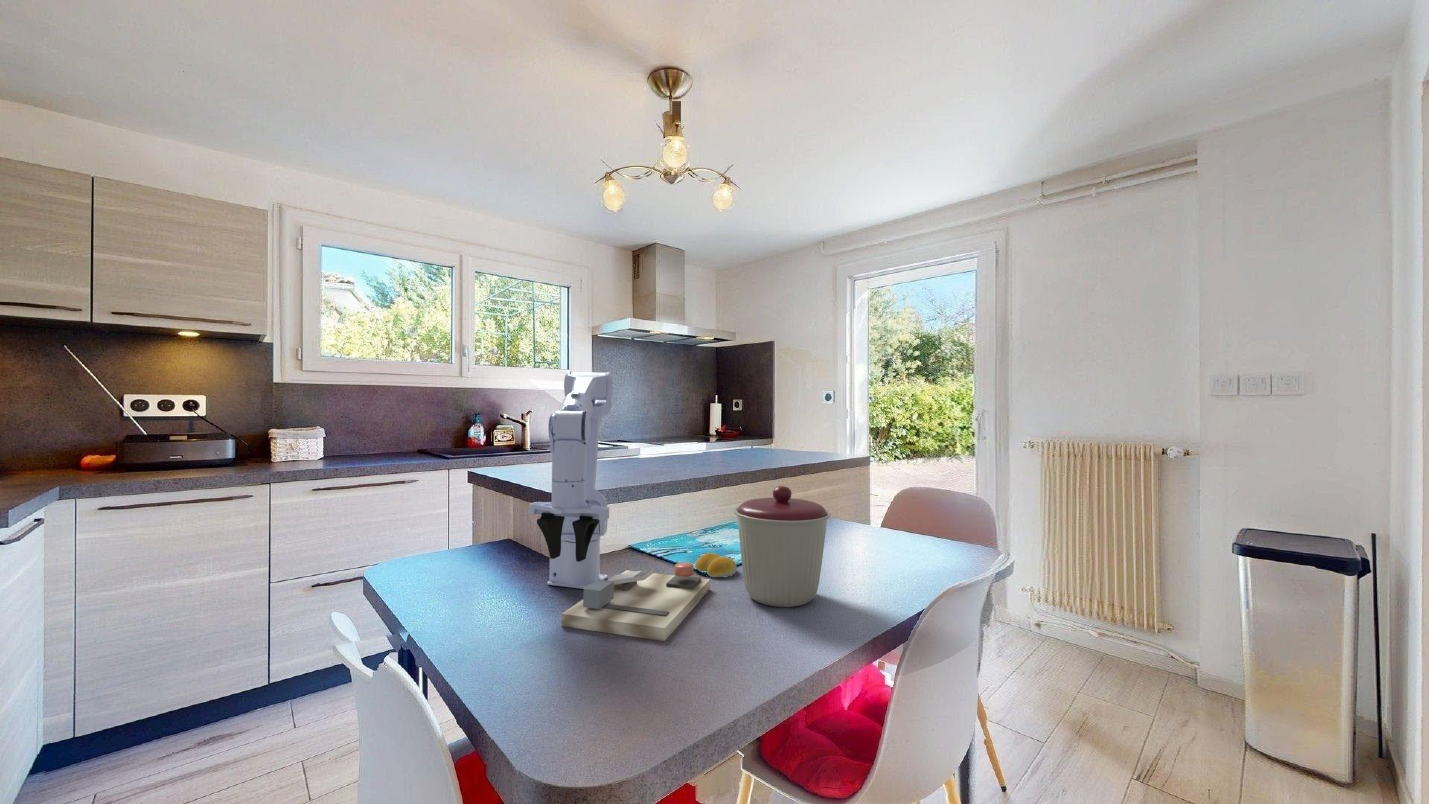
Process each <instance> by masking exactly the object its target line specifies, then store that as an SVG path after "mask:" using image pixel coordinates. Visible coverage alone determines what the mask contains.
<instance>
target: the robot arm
mask: <svg viewBox="0 0 1429 804" xmlns="http://www.w3.org/2000/svg"><path fill="white" fill-rule="evenodd" d="M613 378H614V377H613V374H612V373H611V372H610V371H606V372H599V371H598V372H595V371H594V372H592V371H591V372H589V371H588V372H587V371H581V372H580V371H572V370H570V371H569V370H568V371H567V372H566V373H565V375H564V380H563V381H564V382H563V386H564V387H563V389H564V390H563V393H564V398H563V400H562V402H561V404H560V407H559V408H558V410H555V412H554V413H550V415H549V418H548V424H547V425H548V427H547V428H548V430H547V431H548V432H547V433H548V440H549V451H550V452H549V453H550V454H551V501H534V502H531V503H529V504H528V506H529V507H528V515H529V516H530V515H531V516H535V515H541V516H540V518H537V519H536V524H537V526H538V528H539V530H541V531H540V532H542V535H543V537H544V540H545V542H546V545H547V549H548V550H547V551H548V554H549V576H548V578H549V580H548V581H547V583H546V584H547V585H549V586H550V585H551V586H557V587H563V588H564V587H566V588H572V589H580V590H584V588H586V587H587V586H589V585H590V584H592V583H593V582H595V581H597V580H607V579H608V574H604V573H603V574H601V573H600V572H601V571H600V568H601V567H600V566H601V564H600V563H601V561H600V560H601V559H600V558H601V549H600V548H601V537H605V535H606V533H607V531H608V520H609V519H610V507H609V506H608V500H607V498H606V496H604V494H603V493H601V492H599V491H598V490H597V489H596V479H597V477H596V476H597V469H598V468H597V465H598V452H599V451H598V450H599V439H600V438H599V436H600V435H599V434H600V427H601V424H602V420H603V417H604V416H606V415H608V414H610V413H611V409H612V406H613V404H612V402H613V401H612V399H613V392H614V391H613V390H614V385H613V384H614V383H613V382H614V379H613Z"/></svg>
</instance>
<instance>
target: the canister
mask: <svg viewBox="0 0 1429 804" xmlns="http://www.w3.org/2000/svg"><path fill="white" fill-rule="evenodd" d="M772 496H773V497H762V498H760V497H759V498H754V499H749V500H747V501H744V502H742V503H741V504H740V505H738V506H736V507H735V508H734V509H733V513H734V514H735V516H737V526H738V527H737V528H738V535H739V548H740V558H741V567H742V576H743V583H744V587H745V590H746V592H747V594H748V595H749V597H750V598H751V599H753V600H754V601H756V602H758V603H760V604H762V605H766V606H771V607H776V608H794V607H799V606H803V605H805V604H808V603H810V602H811V601H812V600H813V599H814V598H815V597H816V595H817V591H818V589H819V585H820V579H821V571H822V566H823V565H822V564H823V557H824V550H825V542H826V540H825V539H826V535H827V534H826V533H827V531H826V530H827V523H828V520H829V519H830V517H831V516H832V515H831V512H830V510H829V509H827V508H824V507H823V505H821V504H820V503H817V502H814V501H811V500H807V499H800V498H794V497H793V498H791V497H792V490H791V489H790V488H789V486H784V485H778V486H776V487H774V488H773V490H772Z"/></svg>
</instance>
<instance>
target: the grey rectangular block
mask: <svg viewBox="0 0 1429 804" xmlns="http://www.w3.org/2000/svg"><path fill="white" fill-rule="evenodd" d="M607 580H608V579H604V580H597V581H595V582H593V583H592V584H590V585H589V586H587V587H586V588H584V589H583V593H582V594H583V598H582V600H583V607H587V608H595V609H600V608H602V607H603V606H604V605H606V604H607V603H608V602H610V601H611V600H612V599H614V581H607Z"/></svg>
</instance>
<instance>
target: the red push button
mask: <svg viewBox="0 0 1429 804" xmlns="http://www.w3.org/2000/svg"><path fill="white" fill-rule="evenodd" d="M694 568H695V564H693V563H691V562H677V563H676V564H675V565H674V575H676V576H680V577H688V576H690V577H693V575H694Z"/></svg>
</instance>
